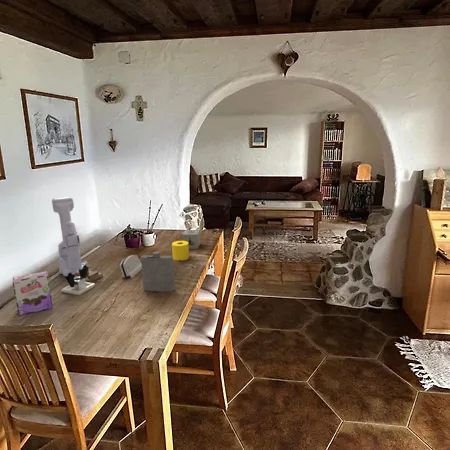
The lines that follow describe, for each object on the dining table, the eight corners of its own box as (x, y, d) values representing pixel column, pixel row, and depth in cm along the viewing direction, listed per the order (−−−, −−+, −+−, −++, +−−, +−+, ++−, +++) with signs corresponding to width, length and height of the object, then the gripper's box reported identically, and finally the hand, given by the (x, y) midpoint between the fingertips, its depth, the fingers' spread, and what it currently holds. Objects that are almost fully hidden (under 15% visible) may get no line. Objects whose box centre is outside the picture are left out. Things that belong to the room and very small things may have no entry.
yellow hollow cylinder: (187, 260, 215) (187, 245, 212) (171, 260, 215) (170, 246, 213) (189, 254, 225) (189, 240, 222) (174, 254, 225) (173, 240, 222)
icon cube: (185, 243, 246) (185, 230, 243) (199, 244, 245) (199, 230, 242) (182, 248, 236) (182, 234, 234) (197, 248, 235) (197, 234, 233)
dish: (61, 292, 175) (61, 289, 175) (78, 283, 185) (77, 280, 185) (79, 295, 172) (78, 292, 171) (94, 286, 182) (94, 283, 181)
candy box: (18, 316, 153) (11, 281, 149) (18, 310, 158) (12, 276, 154) (53, 308, 159) (47, 274, 155) (52, 303, 164) (47, 270, 160)
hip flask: (175, 288, 178) (173, 251, 172) (173, 292, 174) (171, 253, 168) (144, 287, 179) (141, 250, 174) (142, 291, 175) (139, 253, 170)
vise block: (70, 280, 189) (69, 270, 188) (83, 273, 198) (82, 264, 197) (89, 283, 184) (88, 274, 183) (102, 276, 193) (101, 267, 192)
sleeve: (71, 289, 177) (69, 280, 176) (78, 285, 181) (77, 276, 180) (79, 290, 175) (77, 281, 174) (86, 286, 180) (85, 277, 178)
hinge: (131, 278, 191) (124, 261, 189) (124, 280, 192) (116, 263, 190) (144, 266, 206) (138, 251, 205) (137, 268, 208) (131, 253, 206)
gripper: (69, 264, 166) (73, 291, 170) (91, 254, 179) (94, 279, 183) (58, 262, 169) (62, 288, 172) (80, 253, 182) (83, 277, 185)
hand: (77, 283), depth 178 cm, fingers open, 7 cm apart
